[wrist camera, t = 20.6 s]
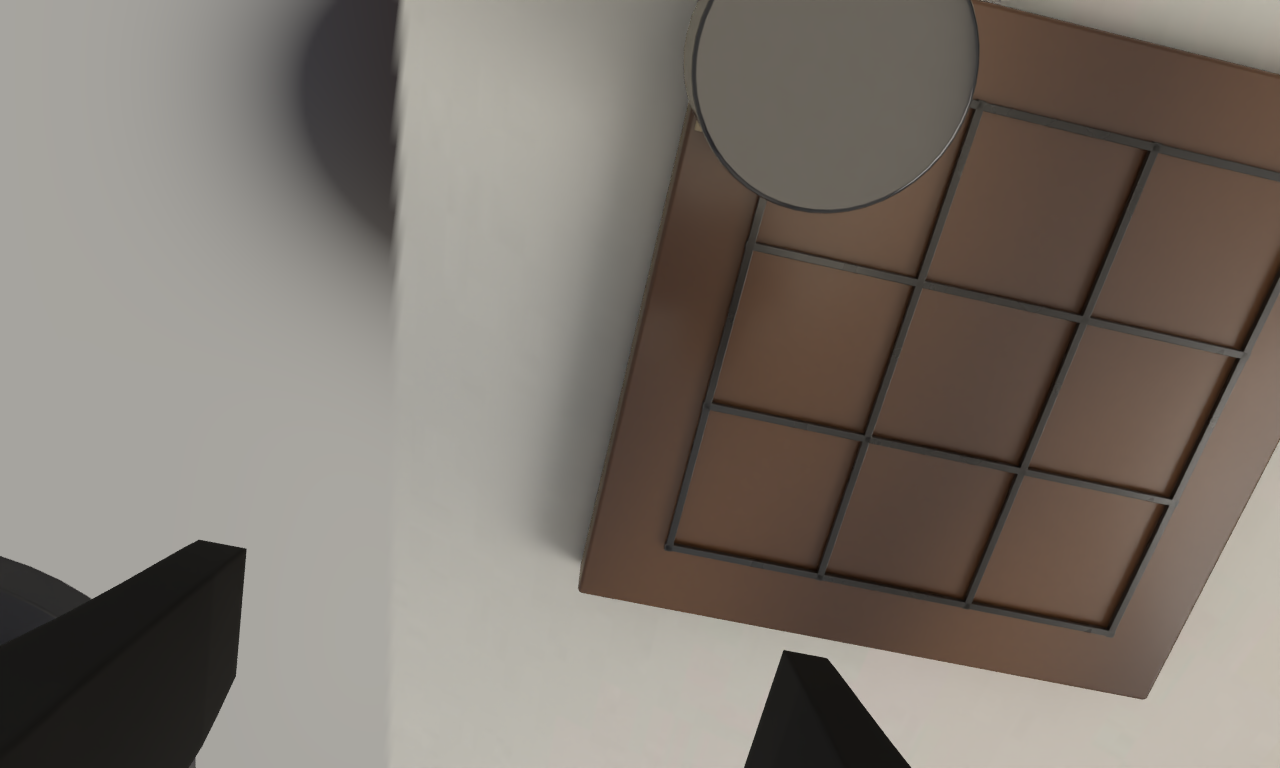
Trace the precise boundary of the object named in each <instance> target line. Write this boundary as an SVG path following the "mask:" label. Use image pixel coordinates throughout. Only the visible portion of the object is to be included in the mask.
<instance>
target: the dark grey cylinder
mask: <svg viewBox="0 0 1280 768" xmlns="http://www.w3.org/2000/svg"><path fill="white" fill-rule="evenodd" d="M979 63H980V41H979V31H978V23H977V19H976V15H975V11H974V7H973V4H972V1H971V0H698V2H697V5H696V7H695V9H694V12H693V14H692V16H691V20H690V23H689V26H688V30H687V33H686V39H685V45H684V58H683V70H684V82H685V87H686V92H687V97H688V100H689V103H690V106H691V109H692V112H693V114H694V116H695V118H696V120H697V122H698V124H699V126H700V128H701V130H702V132H703V134H704V136H705V138H706V140H707V142H708V144H709V146H710V148H711V150H712V151H713V153H714V154H715V155H716V157H717V158H718V160H719V161H720V163H721V164H722V165H723V166H724V167H725V169H726V170H727V171H728V172H729V173H730V174H731V175H732V176H733V177H734V178H735V179H736V180H737V181H738V182H740V183H741V184H742V185H743V186H744V187H745V188H747V189H748V190H750V191H751V192H753V193H755V194H756V195H758V196H759V197H761V198H763V199H765V200H767V201H769V202H771V203H774V204H776V205H778V206H781V207H785V208H788V209H791V210H795V211H801V212H807V213H819V214H833V213H843V212H850V211H854V210H858V209H863V208H866V207H869V206H872V205H875V204H877V203H880V202H883V201H885V200H887V199H889V198H891V197H892V196H894V195H896V194H898V193H900V192H902V191H903V190H904V189H906V188H907V187H909V186H910V185H912V184H913V183H915V182H916V181H917V180H918V179H919V178H921V177H922V176H923V175H924V174H925V173H926V172H928V171H929V170H930V169H931V168H932V167H933V165H934V164H935V163H936V162H937V161H938V160H939V159H940V158H941V157H942V156H943V154H944V153H945V151H946V150H947V149H948V147H949V146H950V144H951V143H952V142H953V140H954V139H955V137H956V135H957V133H958V132H959V130H960V128H961V126H962V124H963V122H964V120H965V118H966V115H967V113H968V110H969V108H970V105H971V103H972V99H973V95H974V92H975V88H976V85H977V78H978V71H979Z"/></svg>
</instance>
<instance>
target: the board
mask: <svg viewBox="0 0 1280 768" xmlns="http://www.w3.org/2000/svg"><path fill="white" fill-rule="evenodd" d="M971 1H972V4H973V7H974V11H975V15H976V19H977V23H978V31H979V41H980V63H979V71H978V78H977V85H976V88H975V92H974V95H973V99H972V103H971V105H970V108H969V110H968V113H967V115H966V118H965V120H964V122H963V124H962V126H961V128H960V130H959V132H958V133H957V135H956V137H955V139H954V140H953V142H952V143H951V144H950V146H949V147H948V149H947V150H946V151H945V153H944V154H943V156H942V157H941V158H940V159H939V160H938V161H937V162H936V163H935V164H934V165H933V167H932V168H931V169H930V170H929V171H928V172H926V173H925V174H924V175H923V176H922V177H921V178H919V179H918V180H917V181H916V182H915V183H913V184H912V185H910V186H909V187H907V188H906V189H904V190H903V191H902V192H900V193H898V194H896V195H894V196H892V197H891V198H889V199H887V200H885V201H883V202H880V203H877V204H875V205H872V206H869V207H866V208H863V209H858V210H854V211H850V212H843V213H833V214H819V213H807V212H801V211H795V210H791V209H788V208H785V207H781V206H778V205H776V204H774V203H771V202H769V201H767V200H765V199H763V198H761V197H759V196H758V195H756V194H755V193H753V192H751V191H750V190H748V189H747V188H745V187H744V186H743V185H742V184H741V183H740V182H738V181H737V180H736V179H735V178H734V177H733V176H732V175H731V174H730V173H729V172H728V171H727V170H726V169H725V167H724V166H723V165H722V164H721V163H720V161H719V160H718V158H717V157H716V155H715V154H714V153H713V151H712V150H711V148H710V146H709V144H708V142H707V140H706V138H705V136H704V134H703V132H702V130H701V128H700V126H699V124H698V122H697V120H696V118H695V116H694V114H693V112H692V109H691V106H690V103H688V107H687V111H686V115H685V120H684V124H683V128H682V133H681V137H680V141H679V145H678V150H677V154H676V158H675V163H674V167H673V171H672V175H671V180H670V184H669V188H668V193H667V197H666V201H665V205H664V210H663V214H662V218H661V223H660V227H659V231H658V235H657V240H656V244H655V248H654V253H653V257H652V261H651V265H650V270H649V274H648V278H647V283H646V287H645V291H644V295H643V300H642V304H641V308H640V313H639V317H638V321H637V325H636V330H635V334H634V338H633V343H632V347H631V351H630V356H629V360H628V364H627V368H626V373H625V377H624V381H623V386H622V390H621V394H620V398H619V403H618V407H617V411H616V416H615V420H614V424H613V428H612V433H611V437H610V441H609V446H608V450H607V454H606V458H605V463H604V467H603V471H602V476H601V480H600V484H599V488H598V493H597V497H596V501H595V506H594V510H593V514H592V518H591V523H590V527H589V531H588V536H587V540H586V544H585V548H584V553H583V557H582V561H581V567H580V576H579V586H578V589H579V591H580V592H581V593H586V594H591V595H597V596H602V597H607V598H612V599H618V600H623V601H628V602H633V603H639V604H644V605H649V606H654V607H660V608H665V609H670V610H675V611H681V612H686V613H691V614H696V615H702V616H707V617H712V618H717V619H723V620H728V621H733V622H738V623H744V624H749V625H754V626H759V627H765V628H770V629H775V630H780V631H786V632H791V633H796V634H801V635H807V636H812V637H817V638H822V639H828V640H833V641H838V642H843V643H849V644H854V645H859V646H864V647H870V648H875V649H880V650H885V651H891V652H896V653H901V654H906V655H912V656H917V657H922V658H927V659H933V660H938V661H943V662H948V663H954V664H959V665H964V666H969V667H975V668H980V669H985V670H990V671H996V672H1001V673H1006V674H1011V675H1017V676H1022V677H1027V678H1032V679H1038V680H1043V681H1048V682H1053V683H1059V684H1064V685H1069V686H1074V687H1080V688H1085V689H1090V690H1096V691H1101V692H1106V693H1111V694H1117V695H1122V696H1127V697H1132V698H1138V699H1146V698H1147V696H1148V694H1149V692H1150V690H1151V689H1152V687H1153V685H1154V683H1155V681H1156V679H1157V677H1158V675H1159V673H1160V671H1161V669H1162V667H1163V665H1164V663H1165V661H1166V659H1167V657H1168V656H1169V654H1170V652H1171V650H1172V648H1173V646H1174V644H1175V642H1176V640H1177V638H1178V636H1179V634H1180V632H1181V630H1182V628H1183V626H1184V625H1185V623H1186V621H1187V619H1188V617H1189V615H1190V613H1191V611H1192V609H1193V607H1194V605H1195V603H1196V601H1197V599H1198V597H1199V595H1200V594H1201V592H1202V590H1203V588H1204V586H1205V584H1206V582H1207V580H1208V578H1209V576H1210V574H1211V572H1212V570H1213V568H1214V566H1215V564H1216V562H1217V561H1218V559H1219V557H1220V555H1221V553H1222V551H1223V549H1224V547H1225V545H1226V543H1227V541H1228V539H1229V537H1230V535H1231V533H1232V531H1233V530H1234V528H1235V526H1236V524H1237V522H1238V520H1239V518H1240V516H1241V514H1242V512H1243V510H1244V508H1245V506H1246V504H1247V502H1248V500H1249V499H1250V497H1251V495H1252V493H1253V491H1254V489H1255V487H1256V485H1257V483H1258V481H1259V479H1260V477H1261V475H1262V473H1263V471H1264V469H1265V467H1266V466H1267V464H1268V462H1269V460H1270V458H1271V456H1272V454H1273V452H1274V450H1275V448H1276V446H1277V444H1278V442H1279V440H1280V75H1279V74H1275V73H1271V72H1267V71H1263V70H1259V69H1255V68H1251V67H1247V66H1243V65H1239V64H1235V63H1231V62H1227V61H1223V60H1219V59H1215V58H1211V57H1207V56H1203V55H1199V54H1195V53H1191V52H1187V51H1182V50H1178V49H1174V48H1170V47H1166V46H1162V45H1158V44H1154V43H1150V42H1146V41H1142V40H1138V39H1134V38H1130V37H1126V36H1122V35H1118V34H1114V33H1110V32H1106V31H1102V30H1098V29H1094V28H1090V27H1086V26H1082V25H1078V24H1074V23H1070V22H1066V21H1062V20H1058V19H1054V18H1050V17H1046V16H1041V15H1037V14H1033V13H1029V12H1025V11H1021V10H1017V9H1013V8H1009V7H1005V6H1001V5H997V4H993V3H989V2H985V1H981V0H971Z"/></svg>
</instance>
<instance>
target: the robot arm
mask: <svg viewBox="0 0 1280 768" xmlns="http://www.w3.org/2000/svg"><path fill="white" fill-rule="evenodd" d="M245 559H246V549H245V548H240V547H234V546H229V545H224V544H219V543H213V542H208V541H203V540H198V541H196V542H194V543H192V544H190V545H188V546H186V547H184V548H183V549H181V550H179V551H177V552H175V553H174V554H172V555H170V556H168V557H167V558H165V559H163V560H161V561H159V562H158V563H156V564H154V565H152V566H151V567H149V568H147V569H146V570H144V571H142V572H140V573H138V574H137V575H135V576H133V577H132V578H130V579H128V580H126V581H124V582H123V583H121V584H119V585H117V586H115V587H113V588H112V589H110V590H108V591H106V592H104V593H102V594H101V595H99V596H97V597H95V598H93V599H91V600H90V601H88V602H86V603H84V604H82V605H81V606H79V607H77V608H75V609H73V610H71V611H69V612H68V613H66V614H64V615H62V616H60V617H58V618H56V619H54V620H52V621H50V622H48V623H46V624H44V625H42V626H39V627H37V628H35V629H33V630H31V631H29V632H27V633H25V634H23V635H21V636H19V637H17V638H15V639H13V640H11V641H9V642H7V643H5V644H3V645H1V646H0V768H189V766H190V765H191V763H192V762H193V760H194V758H195V757H196V755H197V754H198V752H199V750H200V748H201V747H202V745H203V743H204V741H205V739H206V737H207V735H208V733H209V731H210V729H211V727H212V725H213V723H214V721H215V719H216V717H217V715H218V713H219V711H220V709H221V707H222V704H223V702H224V700H225V698H226V696H227V694H228V692H229V689H230V687H231V685H232V683H233V681H234V679H235V677H236V668H237V656H238V644H239V632H240V619H241V608H242V596H243V584H244V572H245ZM744 768H911V767H910V765H909V764H908V763H907V762H906V760H905V759H904V758H903V757H902V755H901V754H900V753H899V752H898V750H897V749H896V748H895V746H894V745H893V744H892V743H891V741H890V740H889V739H888V737H887V736H886V735H885V734H884V732H883V731H882V730H881V728H880V727H879V726H878V724H877V723H876V722H875V720H874V719H873V718H872V716H871V715H870V714H869V712H868V711H867V710H866V708H865V707H864V706H863V704H862V703H861V702H860V700H859V699H858V698H857V696H856V695H855V694H854V692H853V691H852V690H851V688H850V687H849V686H848V684H847V683H846V682H845V680H844V679H843V678H842V676H841V675H840V674H839V673H838V671H837V670H836V669H835V667H834V666H833V665H832V664H831V663H830V661H829V660H828V659H827V658H823V657H817V656H812V655H807V654H801V653H796V652H791V651H786V650H784V651H783V654H782V656H781V659H780V662H779V665H778V668H777V671H776V674H775V677H774V680H773V683H772V686H771V689H770V692H769V695H768V698H767V701H766V704H765V707H764V710H763V713H762V716H761V719H760V722H759V725H758V728H757V731H756V734H755V737H754V740H753V743H752V746H751V749H750V752H749V755H748V758H747V761H746V764H745V766H744Z"/></svg>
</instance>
